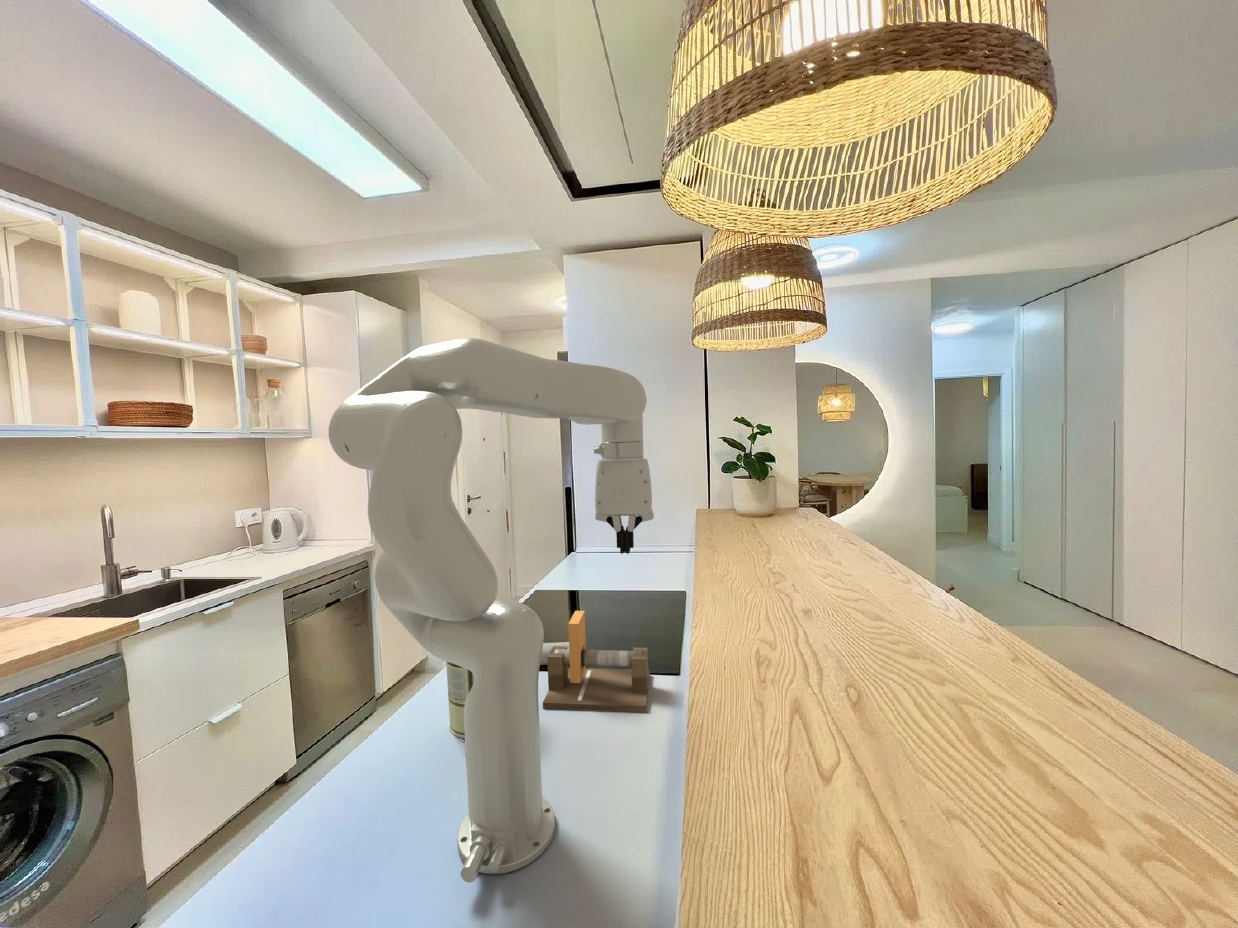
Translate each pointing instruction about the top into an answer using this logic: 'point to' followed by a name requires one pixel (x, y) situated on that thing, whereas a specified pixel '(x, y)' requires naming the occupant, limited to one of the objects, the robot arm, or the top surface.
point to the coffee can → (458, 696)
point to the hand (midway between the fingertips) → (625, 551)
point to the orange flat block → (576, 645)
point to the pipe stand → (599, 681)
